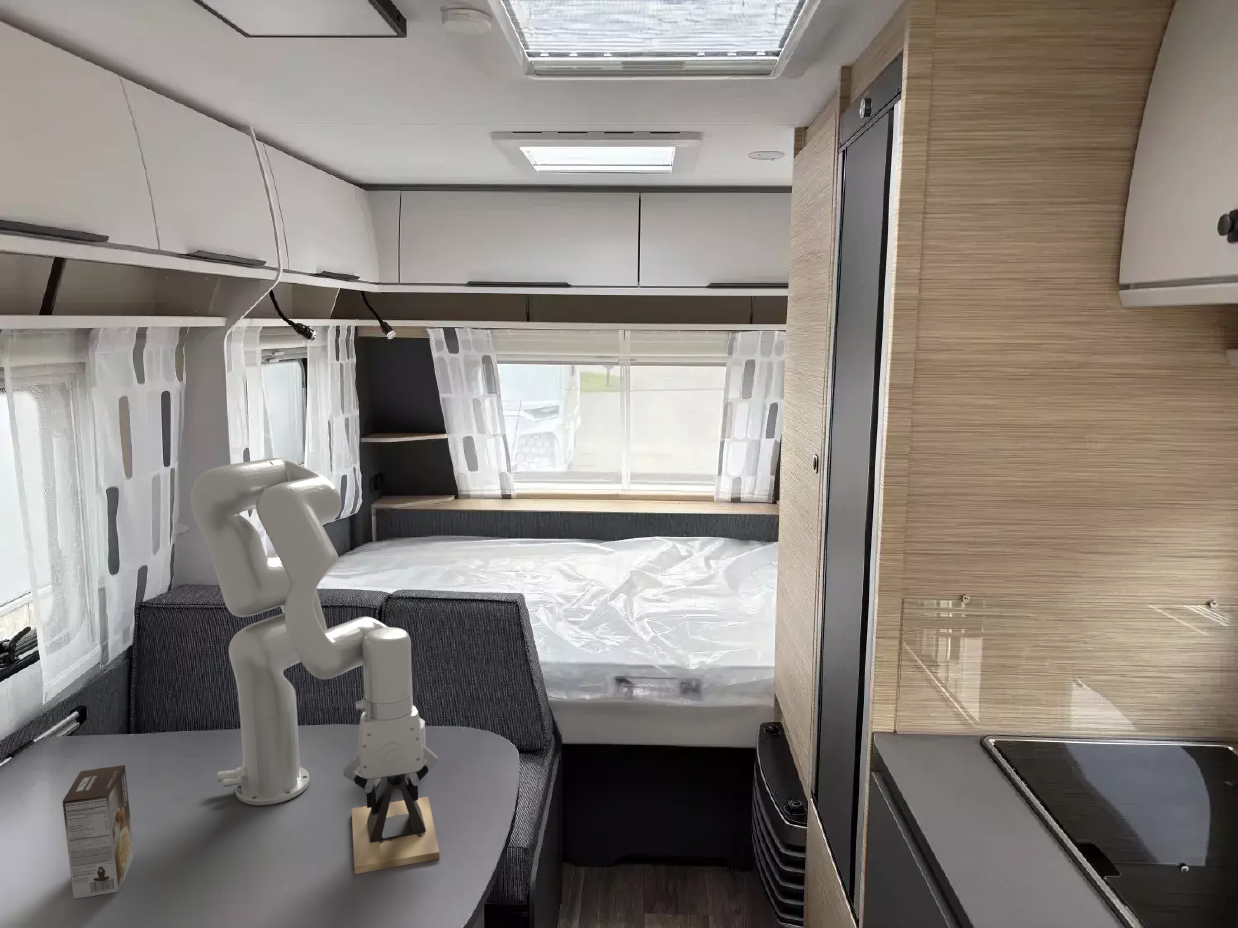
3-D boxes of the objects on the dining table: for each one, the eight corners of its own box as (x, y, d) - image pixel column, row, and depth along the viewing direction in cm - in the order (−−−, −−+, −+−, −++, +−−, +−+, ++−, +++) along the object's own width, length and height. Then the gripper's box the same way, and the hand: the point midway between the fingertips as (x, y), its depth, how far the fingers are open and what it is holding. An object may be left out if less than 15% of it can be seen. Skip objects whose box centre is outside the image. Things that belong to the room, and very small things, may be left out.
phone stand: (369, 842, 141) (366, 774, 139) (367, 822, 147) (364, 756, 145) (426, 832, 144) (423, 765, 142) (421, 812, 150) (419, 748, 148)
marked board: (354, 873, 135) (354, 866, 135) (352, 814, 151) (351, 808, 151) (439, 858, 139) (439, 851, 139) (428, 802, 155) (428, 796, 155)
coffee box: (89, 863, 137) (80, 768, 134) (135, 856, 139) (126, 763, 136) (71, 900, 128) (61, 800, 126) (120, 892, 130) (110, 793, 128)
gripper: (333, 721, 135) (338, 828, 138) (445, 707, 140) (447, 810, 143) (333, 701, 142) (338, 803, 145) (439, 688, 147) (442, 787, 150)
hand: (392, 806), depth 144 cm, fingers open, 5 cm apart
